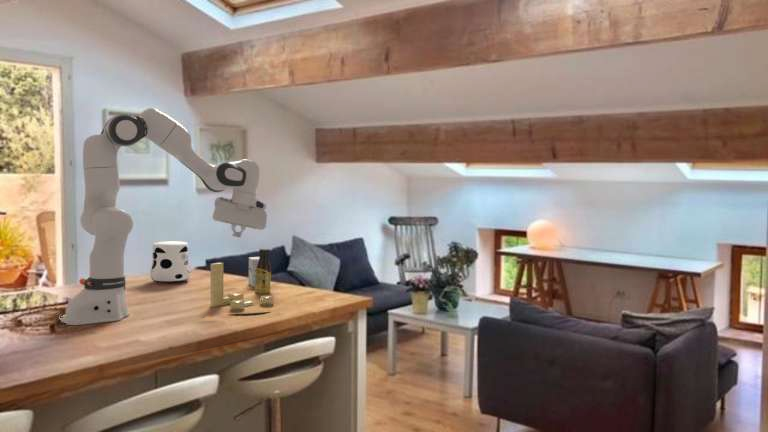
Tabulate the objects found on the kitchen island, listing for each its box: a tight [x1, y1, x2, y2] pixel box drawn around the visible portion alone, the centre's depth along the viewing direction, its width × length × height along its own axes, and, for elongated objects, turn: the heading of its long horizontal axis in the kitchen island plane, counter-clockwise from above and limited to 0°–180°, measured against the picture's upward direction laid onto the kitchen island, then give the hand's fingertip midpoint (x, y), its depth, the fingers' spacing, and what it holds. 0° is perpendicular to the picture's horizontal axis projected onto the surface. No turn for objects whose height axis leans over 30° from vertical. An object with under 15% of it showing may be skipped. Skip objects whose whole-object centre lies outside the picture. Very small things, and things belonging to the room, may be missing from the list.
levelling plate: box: [228, 295, 274, 317], centre depth 240 cm, size 22×22×4 cm
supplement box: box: [248, 256, 260, 288], centre depth 288 cm, size 7×7×13 cm
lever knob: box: [210, 262, 245, 308], centre depth 242 cm, size 14×6×16 cm, turn 142°
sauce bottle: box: [254, 247, 272, 295], centre depth 265 cm, size 6×6×20 cm
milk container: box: [150, 240, 191, 284], centre depth 292 cm, size 17×17×18 cm
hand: (236, 236), depth 242 cm, fingers closed
